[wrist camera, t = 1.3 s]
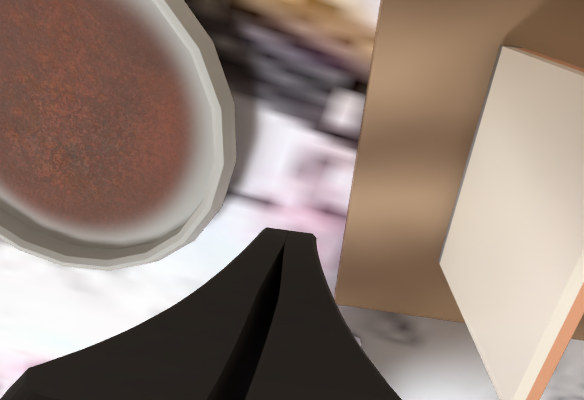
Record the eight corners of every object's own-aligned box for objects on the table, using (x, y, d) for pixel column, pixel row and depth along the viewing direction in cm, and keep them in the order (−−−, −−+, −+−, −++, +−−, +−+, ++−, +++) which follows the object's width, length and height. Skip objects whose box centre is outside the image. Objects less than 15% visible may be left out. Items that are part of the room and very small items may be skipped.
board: (628, 332, 23) (641, 348, 22) (335, 289, 25) (334, 303, 24) (854, -49, 15) (892, -51, 14) (393, -84, 16) (396, -89, 15)
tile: (436, 256, 21) (452, 258, 21) (505, 413, 14) (530, 416, 14) (496, 44, 17) (517, 45, 17) (652, 102, 9) (690, 104, 9)
